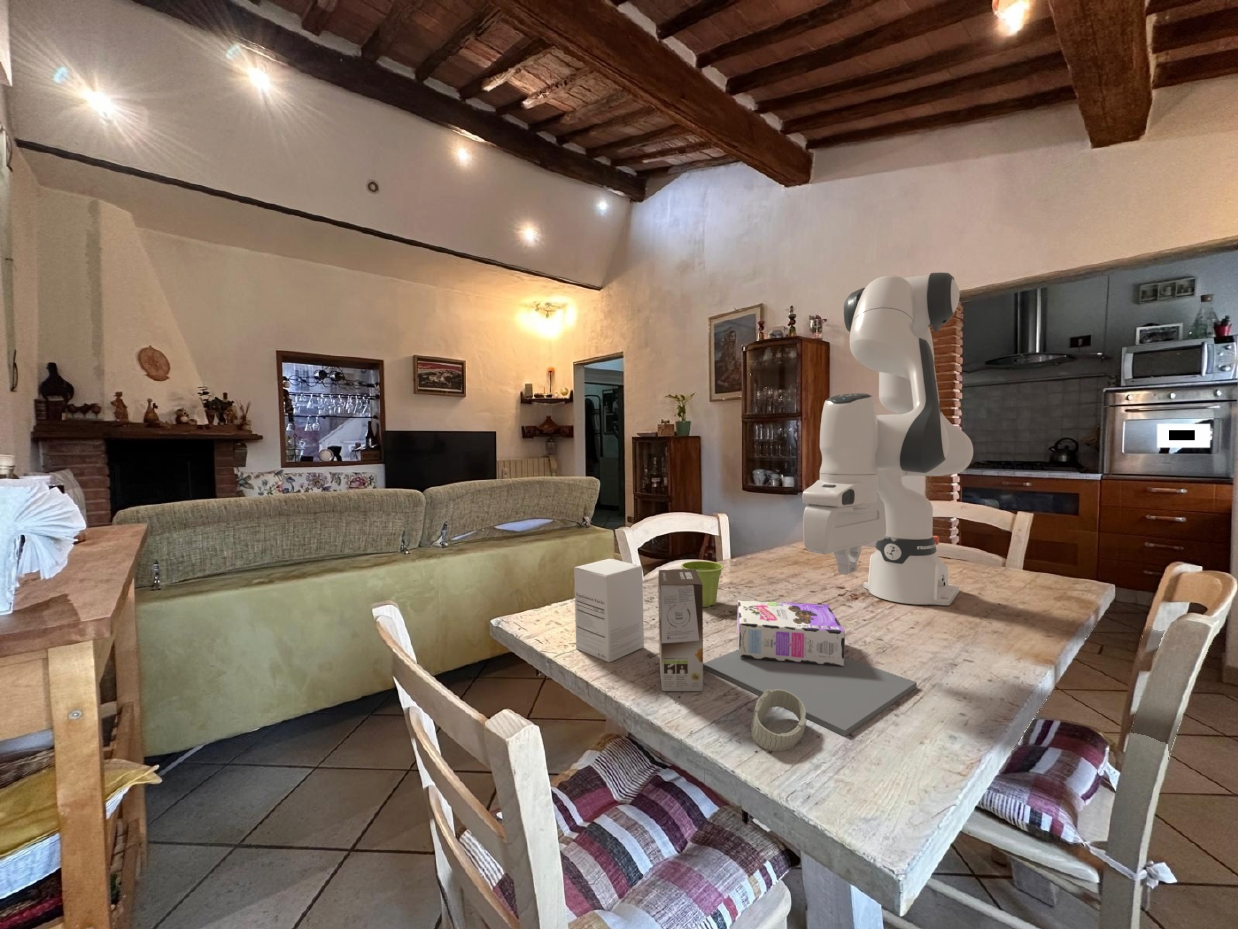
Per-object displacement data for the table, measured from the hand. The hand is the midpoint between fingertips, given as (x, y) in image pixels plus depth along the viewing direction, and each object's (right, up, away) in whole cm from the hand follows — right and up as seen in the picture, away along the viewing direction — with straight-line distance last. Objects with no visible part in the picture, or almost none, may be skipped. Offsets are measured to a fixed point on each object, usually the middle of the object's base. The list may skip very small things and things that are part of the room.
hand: (847, 573), depth 84 cm
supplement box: (-40, -15, +6) cm, 43 cm away
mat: (-10, -15, -7) cm, 19 cm away
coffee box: (-29, -15, -6) cm, 33 cm away
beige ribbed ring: (-18, -16, -21) cm, 32 cm away
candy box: (-1, -11, +1) cm, 11 cm away
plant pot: (-19, -14, +30) cm, 38 cm away
